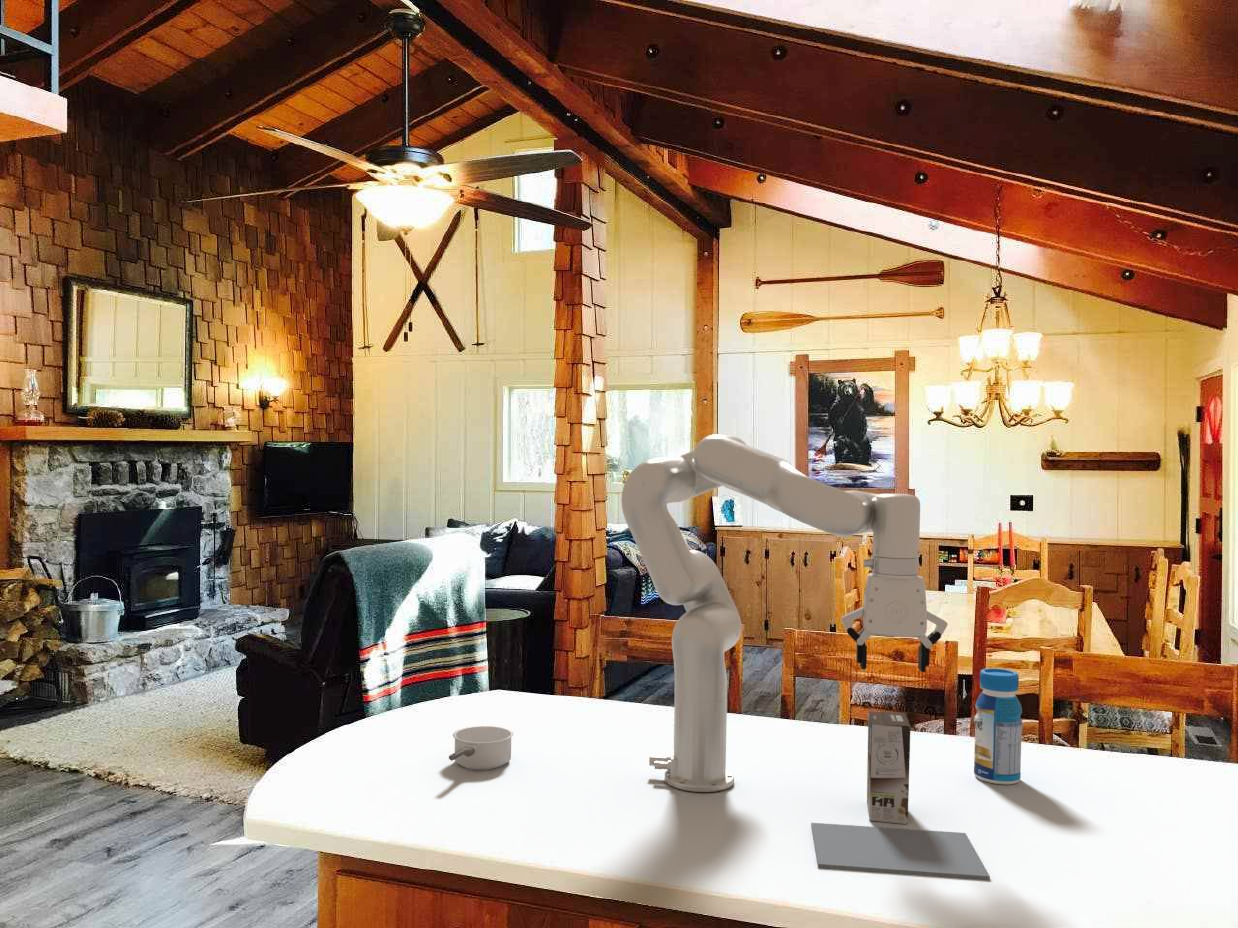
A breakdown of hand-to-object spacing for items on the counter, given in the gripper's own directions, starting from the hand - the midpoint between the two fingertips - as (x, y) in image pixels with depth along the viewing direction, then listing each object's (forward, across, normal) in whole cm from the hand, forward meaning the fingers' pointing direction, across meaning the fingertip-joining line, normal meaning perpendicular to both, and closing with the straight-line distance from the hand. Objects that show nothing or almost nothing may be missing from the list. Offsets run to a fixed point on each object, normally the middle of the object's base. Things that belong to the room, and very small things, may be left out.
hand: (892, 668), depth 164 cm
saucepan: (+25, -74, +9) cm, 79 cm away
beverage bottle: (+24, +23, +21) cm, 40 cm away
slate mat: (+24, -1, -16) cm, 29 cm away
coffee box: (+24, 0, 0) cm, 24 cm away
